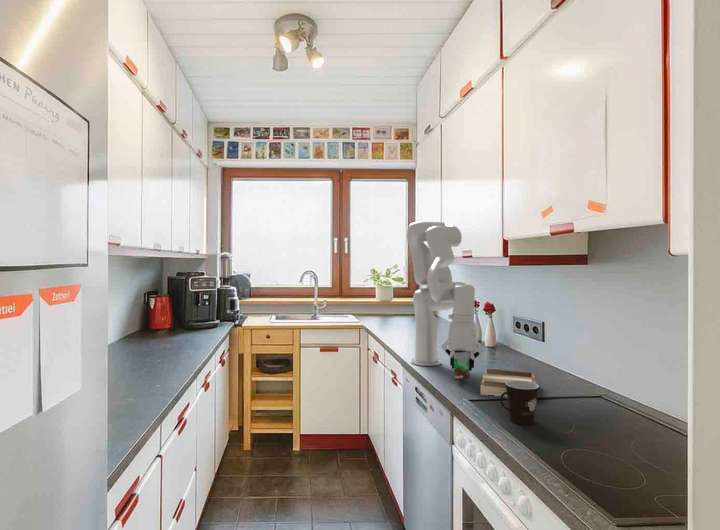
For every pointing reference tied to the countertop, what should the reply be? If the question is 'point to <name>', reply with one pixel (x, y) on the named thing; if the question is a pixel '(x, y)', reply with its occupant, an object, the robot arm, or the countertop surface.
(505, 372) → the dock
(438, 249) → the robot arm
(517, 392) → the coffee mug
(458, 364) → the food container
